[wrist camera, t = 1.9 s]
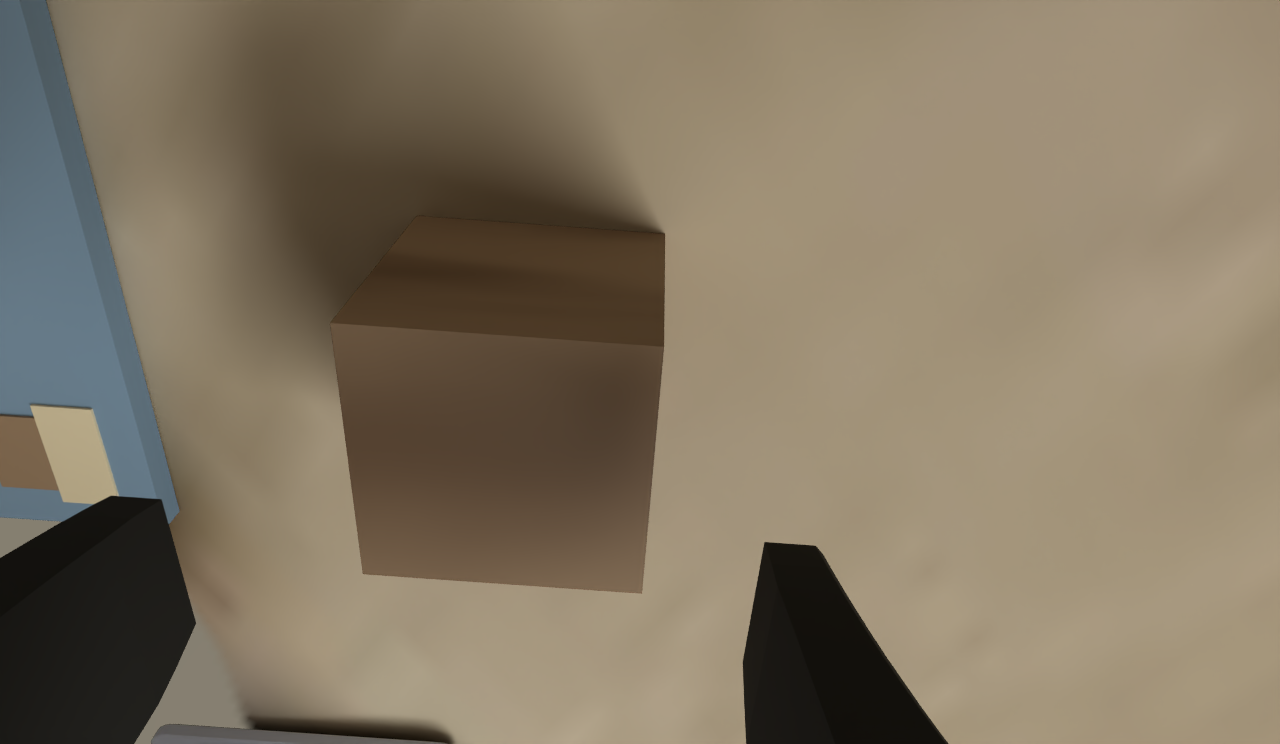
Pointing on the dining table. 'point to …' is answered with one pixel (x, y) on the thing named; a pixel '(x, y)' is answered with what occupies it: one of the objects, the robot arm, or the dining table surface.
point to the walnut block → (505, 403)
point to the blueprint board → (61, 305)
